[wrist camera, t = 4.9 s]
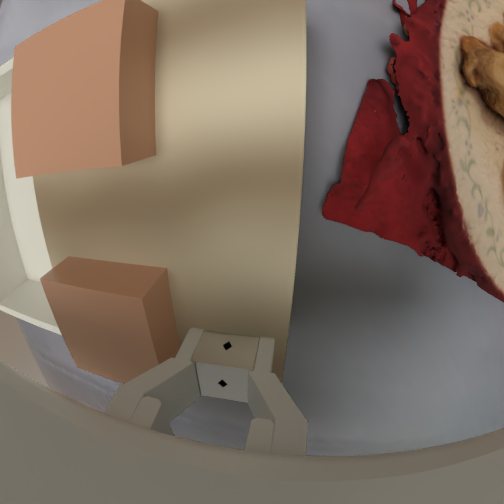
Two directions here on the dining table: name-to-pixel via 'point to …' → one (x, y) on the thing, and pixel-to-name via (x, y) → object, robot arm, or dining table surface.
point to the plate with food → (435, 143)
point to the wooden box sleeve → (206, 171)
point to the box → (20, 230)
